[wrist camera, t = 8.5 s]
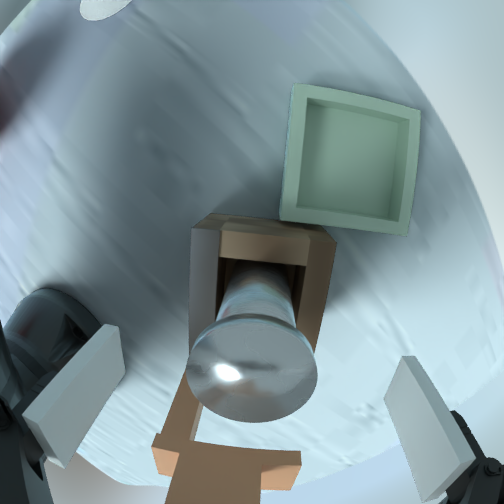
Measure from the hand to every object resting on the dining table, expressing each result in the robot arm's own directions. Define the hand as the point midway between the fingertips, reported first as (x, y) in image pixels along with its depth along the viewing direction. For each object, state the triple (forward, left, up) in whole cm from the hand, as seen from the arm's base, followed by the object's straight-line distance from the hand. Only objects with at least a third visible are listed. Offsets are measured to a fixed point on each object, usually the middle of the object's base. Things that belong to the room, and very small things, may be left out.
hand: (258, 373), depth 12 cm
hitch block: (0, -2, -13) cm, 14 cm away
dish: (+6, +10, -13) cm, 18 cm away
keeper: (-1, -6, -7) cm, 9 cm away
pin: (0, 0, -12) cm, 12 cm away
